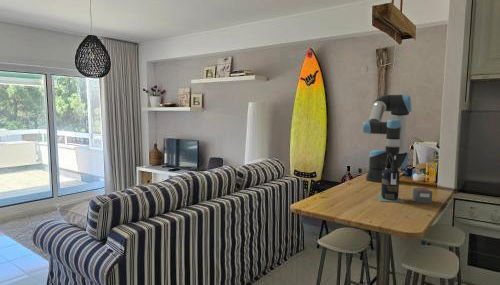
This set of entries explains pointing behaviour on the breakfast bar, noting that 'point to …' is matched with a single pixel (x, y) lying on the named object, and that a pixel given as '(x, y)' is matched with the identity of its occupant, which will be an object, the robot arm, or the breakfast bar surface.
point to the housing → (422, 195)
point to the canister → (389, 185)
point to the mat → (389, 199)
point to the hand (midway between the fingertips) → (390, 181)
